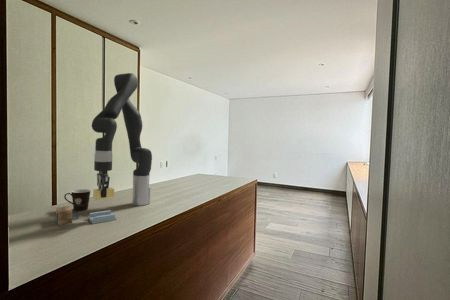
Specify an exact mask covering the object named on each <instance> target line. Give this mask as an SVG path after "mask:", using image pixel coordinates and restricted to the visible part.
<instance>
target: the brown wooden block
mask: <svg viewBox="0 0 450 300" xmlns="http://www.w3.org/2000/svg"><path fill="white" fill-rule="evenodd" d="M55 209H56V210H55V211H56V213H55V215H56V216H58V224H57V225H58V226H61V225H68V224H72V223H73V220H72V213H73V210H72V208H71V207H70V206H69V205H68V206H60V207H55Z"/></svg>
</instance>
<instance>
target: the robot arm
mask: <svg viewBox="0 0 450 300" xmlns="http://www.w3.org/2000/svg"><path fill="white" fill-rule="evenodd" d="M113 82H114V88H115V90H116V94H114V95H113V96H112V97H111V98H110V99H108V101H107V103H106V105H105V106H104V108H103V110H101V111H100V112H99V113H97V115H96V116H95V117H94V118H93V120H92V123H91V128H92V130H93V131H94V132H96V133H98V134H99V133H102V134H104V135H103V137H98V138H96V140H95V144H94V145H95V149H94V150H95V151H94V159H93V160H94V168H93V170H94V171H96V172H97V173H96V185H97V187H98V188H97V189H101V197H102V198H104V199H106V198H105V197H106V196H107V189H108V188H110V187H109V186H110V179H111V177H110V176H109V174H108V172H109V171H112V170H113V141H114V137H115V135H116V132H117V130H118V129H117V128H118V123H117V121H116V119H118V118H119V115H120V113H121V112H122V116H123V122H124V125H125V129H126V133H127V134H126V135H127V138H128V145H129V154H130V159H131V160H132V162H133V163H135V164H137V168H135V169H134V170H133V171H132V200H131V204H132V205H134V206H146V205H149V204H150V203H151V187H150V173H151V171H152V162H153V154H152V151H151V149H149V148H145V147H144V148H143V147H142V144H141V135H142V130H143V120H142V115H141V112H140V111H139V110H138V108H136V106H135V105H134V104H133V103H132V101H131V100H130V98H131V96H132V95H133V93H134V92H135V91H136V90H137V89H138V86H139V80H138V78H137V76H136V75H135V74H134V73H132V72H129V73H120V74H115V76H114V78H113Z"/></svg>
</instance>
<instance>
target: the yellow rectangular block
mask: <svg viewBox="0 0 450 300" xmlns="http://www.w3.org/2000/svg"><path fill="white" fill-rule="evenodd" d="M114 197H115V188H114V187H109V188H108V189H107V196H106V197H105V198H102V197H101V189H99V188H94V189H93V190H92V198H93V199H95V200H103V199H111V198H112V199H113V198H114Z"/></svg>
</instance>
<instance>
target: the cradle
mask: <svg viewBox="0 0 450 300" xmlns="http://www.w3.org/2000/svg"><path fill="white" fill-rule="evenodd" d="M88 220H89V222H90V223H91V224H92V225H94V224H99V223H104V222H111V221H117V217H116V213H112V210H109V209H107V210H104V211H103V210H102V211H95V212H89V215H88Z"/></svg>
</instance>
